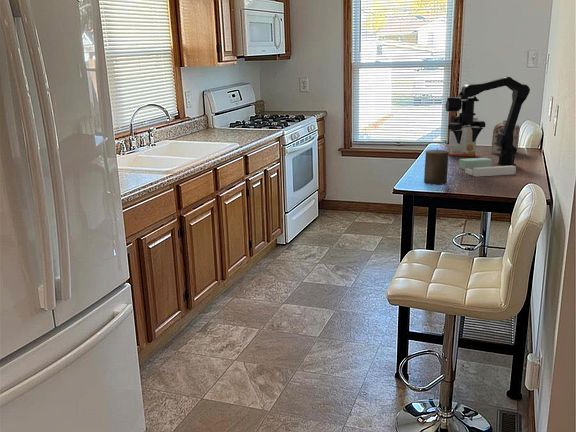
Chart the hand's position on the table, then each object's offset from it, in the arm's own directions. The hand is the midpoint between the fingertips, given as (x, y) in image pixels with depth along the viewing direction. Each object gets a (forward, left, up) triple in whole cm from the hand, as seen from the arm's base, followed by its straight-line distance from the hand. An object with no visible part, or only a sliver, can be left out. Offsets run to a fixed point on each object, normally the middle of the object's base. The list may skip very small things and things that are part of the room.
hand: (466, 142), depth 281 cm
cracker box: (-12, -25, -11) cm, 30 cm away
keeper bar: (-1, +8, -12) cm, 14 cm away
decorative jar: (-38, -25, -11) cm, 47 cm away
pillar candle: (+32, +32, -11) cm, 46 cm away
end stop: (-1, +21, -11) cm, 24 cm away
